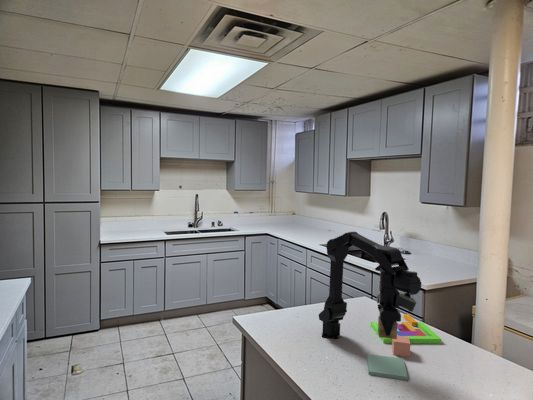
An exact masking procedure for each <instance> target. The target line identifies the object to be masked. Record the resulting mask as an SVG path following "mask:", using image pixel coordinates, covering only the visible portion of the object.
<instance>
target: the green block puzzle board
mask: <svg viewBox="0 0 533 400" xmlns="http://www.w3.org/2000/svg"><path fill="white" fill-rule="evenodd" d="M402 315H403V316H402V317H403V319H404V320H405V321H402V322H401V323H398V322H397V336H405V337H408V338H409V341H410V344H442V338H441V337H440V336H439V335H438V334H437V333H435V332H434V331H433V330H432V329H431V328H430V327H428V325H426V324H425V323H424V322H421V321H420V322H418V321H416V320H415V319H414V318H413V316H411V315H410V314H409V313H403V314H402ZM370 327H371V329H372V330H373V331H374V333H375V334H376V335H377V336H378V338H379V339H380V340H381V342H382V343H383V344H392V339H390V338H382V337H379V334H378V322H376V321H370ZM413 327H417V328H413Z"/></svg>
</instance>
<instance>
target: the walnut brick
mask: <svg viewBox="0 0 533 400" xmlns="http://www.w3.org/2000/svg"><path fill="white" fill-rule="evenodd" d="M397 323H398V322H397V321H395V322H394V324H393V327H392V330H391V333H390V336H387V335H386V333H385V330H384V328H383V325H382V322H381V319H380V316H379V315H378V318H377V324H378V334H379V336H378V338H379V337H382V338H390V339H397Z"/></svg>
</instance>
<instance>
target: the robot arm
mask: <svg viewBox="0 0 533 400" xmlns="http://www.w3.org/2000/svg"><path fill="white" fill-rule="evenodd" d="M353 246H354V247H356V248H357V249H359V250H360V251H363V252H364V253H366V254H369V255H370V256H371V257H372V258H373V261H375V262H376V263H377V264H378V266H376V267H375V268H374V270H375V271H378V272H379V286H378V287H379V288H378V289H379V294H378V295H377V296H376V303H377V308H378V312H379V313H378V314H379V315H378V316H380V319H381V322H382V325H383V328H384V330H385V333H386V335H387V336H390V333H391V330H392V327H393V324H394V322H395V321H397V323H398V322H399V323H400V322H401V321H402V313H401V312H400V310H399V308H400V307H401V308H403V309H405V310H407V311H409V312H412V313H413V311H414V309H415V307H416V305H417V301H416V300H415V298H414V297H412V295H417V294H418V293H419V292H420V291H421V289H422V282H421V278H420V277H419V276H418V272H417V271H410V269H409V266H408V265H407V263H406V261H405V259H404V257H403V255H402V252H401V250H400V249H399V248H396V247H394V246H393V247H392V246H388V245H382V244H379V243H378V242H376V241H373V240H371V239H370V238H367V237H365V236H363V235H361V234H360V233H358V232H356V231H346V232H345V233H343V234H342V235H340V236H337V237H335V238H331V239H329V240H328V241H327V242H326V253H327V257H328V258H329V260H330V271H329V289H328V290H329V291H328V297H327V299H326V300H325V302H324V306H323V310H322V311H320V313H318V320H319V321H321V322H322V333H321V337H322V338H328V339H337V340H338V339H339V337H340V335H341V323H340V321H343V320H344V317H345V316H346V314H347V312H348V309H347V306H348V302H346V301H345V299H344V298H343V281H344V280H343V277H344V261H346V258H347V257H348V254H349V250H350V248H351V247H353ZM400 291H402V292H403V293H402V292H401V293H400Z"/></svg>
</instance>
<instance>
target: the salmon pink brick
mask: <svg viewBox="0 0 533 400" xmlns="http://www.w3.org/2000/svg"><path fill="white" fill-rule="evenodd" d="M391 349H392V354H393V356H402V357H411V343H410V341H409V338H408V337H405V336H397V339H392V343H391Z"/></svg>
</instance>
